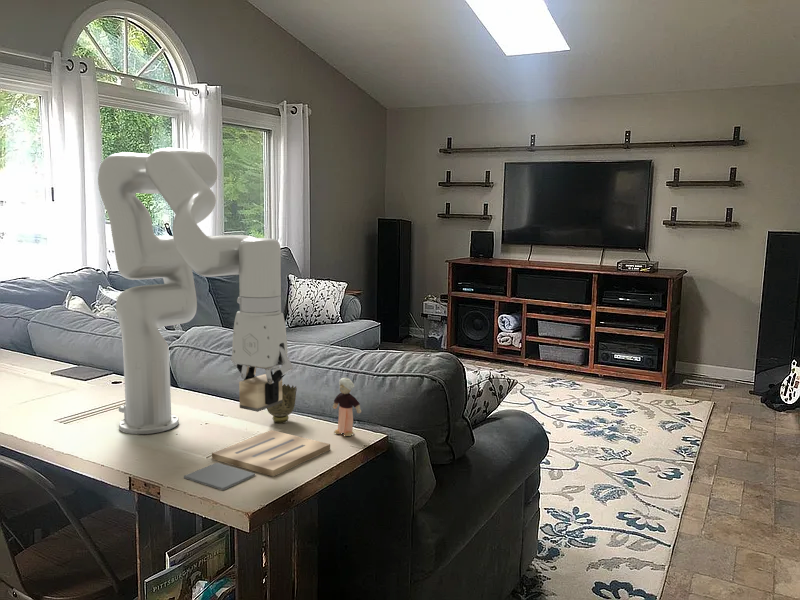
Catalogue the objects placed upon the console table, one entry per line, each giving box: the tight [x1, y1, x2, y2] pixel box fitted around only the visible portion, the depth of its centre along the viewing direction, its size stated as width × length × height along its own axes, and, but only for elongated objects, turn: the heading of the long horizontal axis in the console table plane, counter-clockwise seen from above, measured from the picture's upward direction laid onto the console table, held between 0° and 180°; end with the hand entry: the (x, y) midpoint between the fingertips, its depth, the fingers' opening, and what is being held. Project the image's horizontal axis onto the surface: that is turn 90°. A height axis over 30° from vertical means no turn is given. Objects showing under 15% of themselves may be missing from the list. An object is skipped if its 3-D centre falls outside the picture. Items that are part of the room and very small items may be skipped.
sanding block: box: [238, 373, 283, 413], centre depth 131 cm, size 4×7×5 cm, turn 150°
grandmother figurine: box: [332, 377, 362, 437], centre depth 151 cm, size 8×4×13 cm, turn 66°
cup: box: [266, 383, 297, 424], centre depth 160 cm, size 8×7×8 cm
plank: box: [211, 429, 331, 477], centre depth 139 cm, size 16×17×1 cm
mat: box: [183, 462, 256, 491], centre depth 128 cm, size 10×8×1 cm
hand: (261, 399), depth 132 cm, fingers closed on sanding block, 4 cm apart
